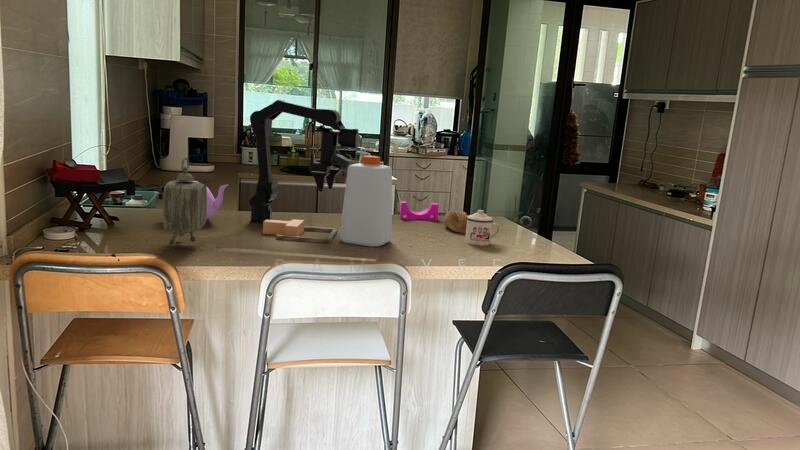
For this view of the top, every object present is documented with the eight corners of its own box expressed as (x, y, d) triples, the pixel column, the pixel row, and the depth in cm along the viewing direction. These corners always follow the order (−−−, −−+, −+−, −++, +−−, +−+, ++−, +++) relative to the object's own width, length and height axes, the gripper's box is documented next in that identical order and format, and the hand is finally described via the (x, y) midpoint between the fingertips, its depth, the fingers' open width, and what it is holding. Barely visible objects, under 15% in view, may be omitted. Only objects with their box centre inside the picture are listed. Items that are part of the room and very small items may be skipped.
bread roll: (450, 235, 219) (452, 213, 218) (438, 227, 233) (440, 206, 232) (475, 235, 221) (477, 214, 220) (461, 227, 236) (463, 207, 234)
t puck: (259, 235, 194) (260, 223, 193) (268, 228, 206) (269, 217, 205) (296, 238, 194) (297, 226, 193) (303, 231, 206) (304, 220, 205)
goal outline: (275, 239, 191) (276, 235, 190) (288, 228, 209) (288, 224, 209) (329, 243, 190) (329, 239, 190) (337, 232, 208) (337, 228, 208)
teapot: (232, 218, 220) (233, 180, 217) (223, 226, 205) (224, 186, 202) (170, 214, 218) (170, 176, 215) (157, 222, 202) (157, 182, 200)
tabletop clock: (176, 235, 185) (177, 154, 180) (207, 237, 186) (208, 156, 181) (163, 246, 171) (163, 158, 166) (195, 248, 172) (196, 160, 167)
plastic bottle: (377, 248, 188) (384, 159, 183) (334, 242, 193) (339, 155, 188) (395, 240, 202) (401, 157, 197) (354, 234, 207) (359, 153, 202)
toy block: (434, 220, 249) (436, 202, 247) (437, 222, 243) (438, 204, 241) (398, 218, 247) (400, 200, 246) (400, 221, 241) (401, 202, 239)
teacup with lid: (467, 245, 203) (470, 211, 200) (461, 239, 212) (464, 207, 209) (501, 247, 204) (505, 213, 202) (494, 241, 213) (498, 209, 211)
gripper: (341, 149, 198) (338, 196, 201) (358, 147, 216) (355, 190, 219) (310, 146, 201) (307, 192, 204) (329, 144, 219) (326, 186, 221)
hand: (325, 190), depth 212 cm, fingers open, 9 cm apart
